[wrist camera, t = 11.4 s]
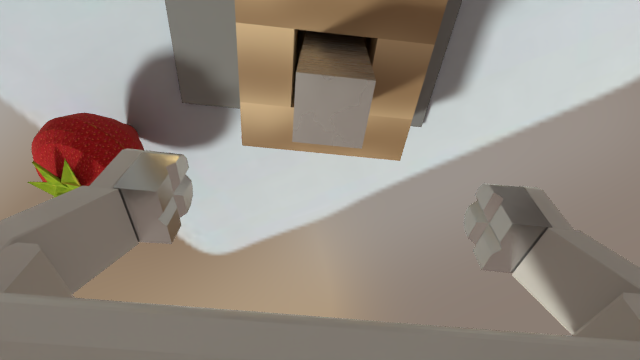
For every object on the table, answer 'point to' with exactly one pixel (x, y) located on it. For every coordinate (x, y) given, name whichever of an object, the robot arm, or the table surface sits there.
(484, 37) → the table surface
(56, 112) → the table surface
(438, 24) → the socket block
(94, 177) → the strawberry
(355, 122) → the square bit
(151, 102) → the table surface
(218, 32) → the mat
